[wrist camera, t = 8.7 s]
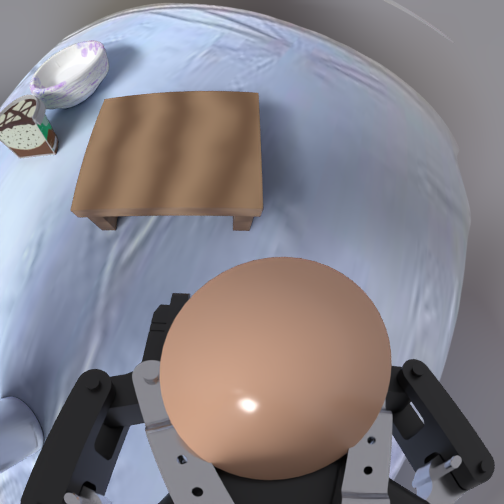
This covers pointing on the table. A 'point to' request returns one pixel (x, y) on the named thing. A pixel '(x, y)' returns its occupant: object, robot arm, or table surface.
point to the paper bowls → (70, 75)
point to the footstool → (173, 158)
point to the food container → (27, 128)
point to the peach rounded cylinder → (275, 368)
